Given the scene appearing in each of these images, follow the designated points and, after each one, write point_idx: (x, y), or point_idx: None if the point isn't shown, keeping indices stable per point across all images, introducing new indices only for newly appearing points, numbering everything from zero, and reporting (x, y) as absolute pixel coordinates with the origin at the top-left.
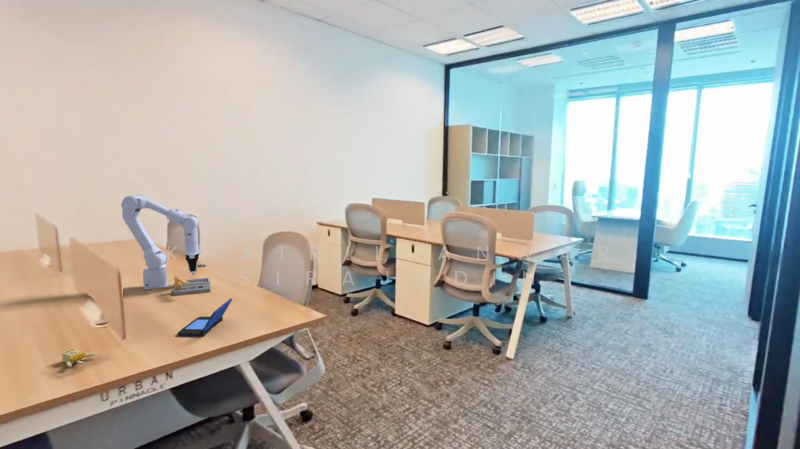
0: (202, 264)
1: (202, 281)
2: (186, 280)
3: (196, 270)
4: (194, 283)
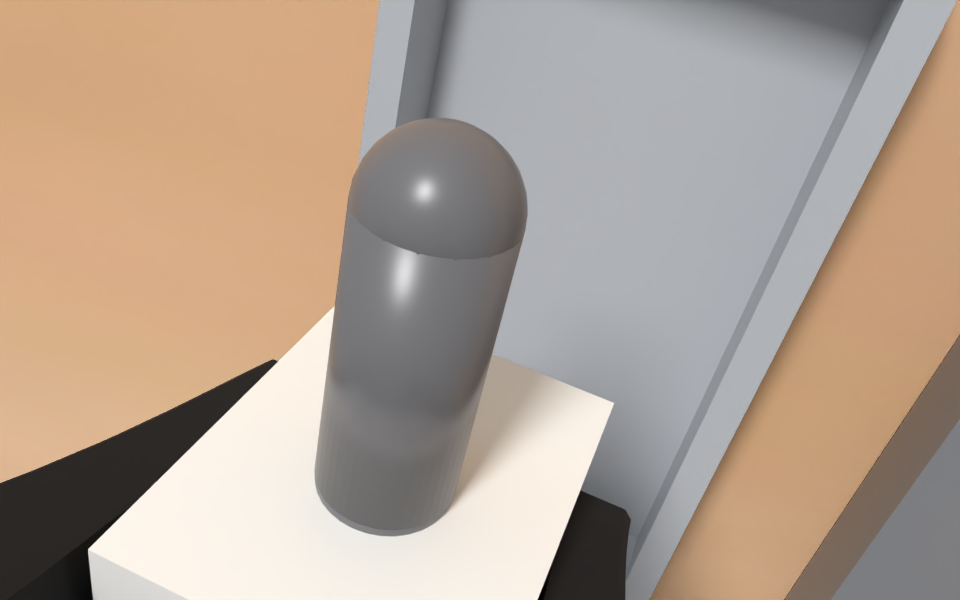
0: (403, 336)
1: (445, 9)
2: None
3: (587, 469)
4: (774, 349)
